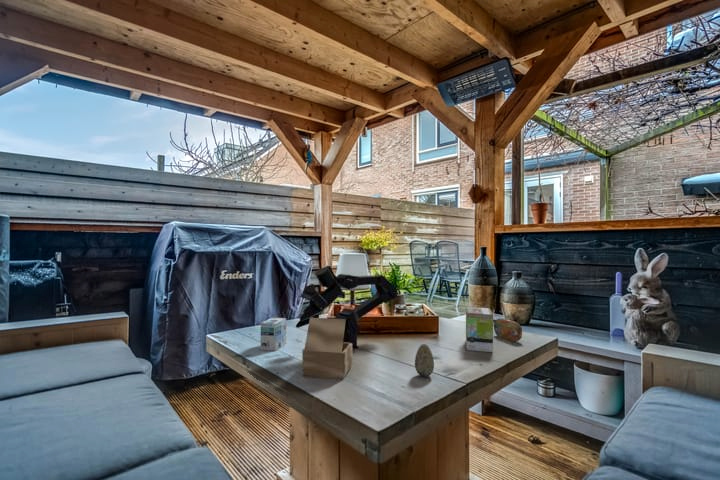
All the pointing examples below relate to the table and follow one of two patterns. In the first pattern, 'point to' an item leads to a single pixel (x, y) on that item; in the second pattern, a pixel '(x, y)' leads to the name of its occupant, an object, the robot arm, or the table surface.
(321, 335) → the carton flap
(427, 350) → the decorative egg
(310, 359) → the carton
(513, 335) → the tin
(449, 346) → the table surface
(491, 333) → the tea box
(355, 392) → the table surface
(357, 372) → the table surface
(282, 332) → the light bulb box
